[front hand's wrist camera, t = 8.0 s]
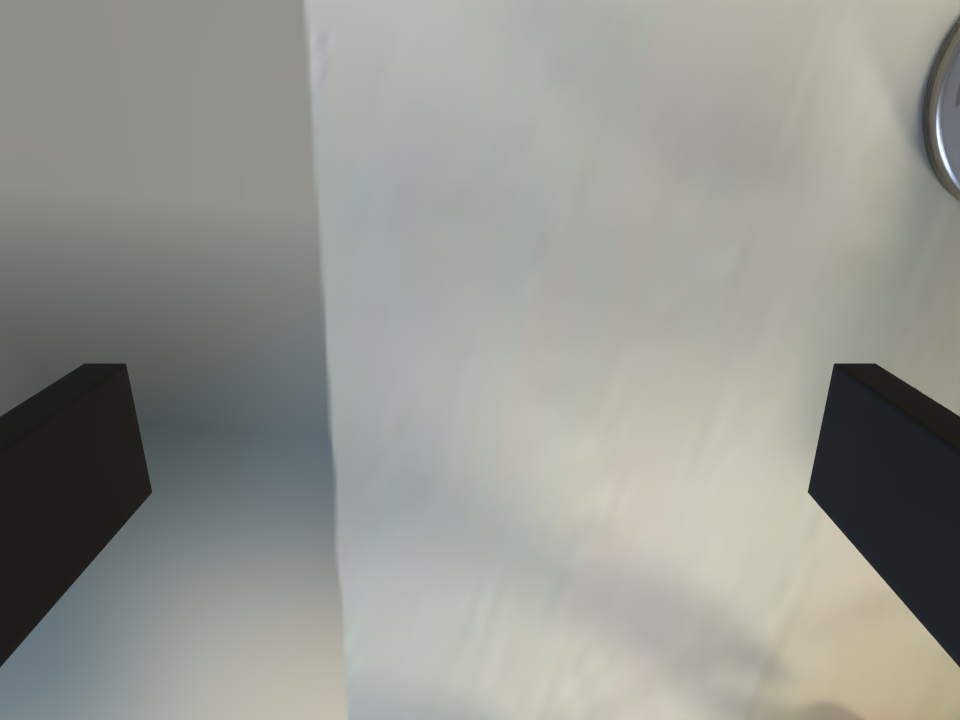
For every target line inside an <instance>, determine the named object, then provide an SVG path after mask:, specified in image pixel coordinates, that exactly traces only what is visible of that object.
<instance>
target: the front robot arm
mask: <svg viewBox="0 0 960 720" xmlns="http://www.w3.org/2000/svg"><path fill="white" fill-rule="evenodd" d="M923 135H924V143H925V147H926V151H927V155H928V158H929V161H930V163H931V166H932V168H933V170H934V172H935V174H936V176H937V177H938V179H939V180H940V182H941V183H942V185H943V186H944V187H945V188H946V189H947V190H948V191H949V193H951V194H952V195H953V196H954V197H955V198H956V199H957V200H959V201H960V19H959V21H958V22H957V23H956V25H955V26H954V28H953V29H952V31H951V32H950V34H949V36H948V37H947V39H946V41H945V43H944V44H943V46H942V48H941V50H940V52H939V54H938V57H937V59H936V61H935V64H934V66H933V69H932V72H931V75H930V78H929V81H928V85H927V89H926V93H925V100H924V106H923ZM151 493H152V489H151V485H150V480H149V475H148V470H147V465H146V460H145V455H144V450H143V445H142V440H141V435H140V430H139V426H138V421H137V416H136V411H135V406H134V401H133V396H132V392H131V387H130V382H129V376H128V372H127V367H126V364H83V365H82V366H80V367H78V368H77V369H75V370H74V371H72V372H70V373H69V374H67V375H66V376H64V377H62V378H61V379H59V380H58V381H56V382H55V383H53V384H52V385H50V386H48V387H47V388H45V389H43V390H42V391H40V392H39V393H37V394H36V395H34V396H32V397H31V398H29V399H28V400H26V401H24V402H23V403H21V404H20V405H18V406H16V407H15V408H13V409H12V410H10V411H8V412H7V413H5V414H4V415H2V416H1V417H0V667H1V666H2V665H3V663H4V662H5V661H6V660H7V659H8V658H9V657H10V655H11V654H12V653H13V652H14V651H15V650H16V648H17V647H18V646H19V645H20V644H21V643H22V642H23V640H24V639H25V638H26V637H27V636H28V635H29V633H30V632H31V631H32V630H33V629H34V628H35V627H36V625H37V624H38V623H39V622H40V621H41V620H42V619H43V617H44V616H45V615H46V614H47V613H48V612H49V610H50V609H51V608H52V607H53V606H54V605H55V604H56V602H57V601H58V600H59V599H60V598H61V597H62V596H63V594H64V593H65V592H66V591H67V590H68V588H69V587H70V586H71V585H72V584H73V583H74V582H75V581H76V579H77V578H78V577H79V576H80V575H81V574H82V572H83V571H84V570H85V569H86V568H87V567H88V566H89V564H90V563H91V562H92V561H93V560H94V559H95V557H96V556H97V555H98V554H99V553H100V552H101V551H102V549H103V548H104V547H105V546H106V545H107V544H108V543H109V541H110V540H111V539H112V538H113V537H114V536H115V534H116V533H117V532H118V531H119V530H120V529H121V528H122V526H123V525H124V524H125V523H126V522H127V521H128V519H129V518H130V517H131V516H132V515H133V514H134V513H135V511H136V510H137V509H138V508H139V507H140V506H141V505H142V503H143V502H144V501H145V500H146V499H147V498H148V496H149V495H150V494H151ZM808 493H809V494H810V495H811V496H812V498H813V499H814V500H815V501H816V502H817V503H818V505H819V506H820V507H821V508H822V509H823V510H824V511H825V513H826V514H827V515H828V516H829V517H830V518H831V519H832V521H833V522H834V523H835V524H836V525H837V526H838V528H839V529H840V530H841V531H842V532H843V533H844V534H845V536H846V537H847V538H848V539H849V540H850V541H851V543H852V544H853V545H854V546H855V547H856V548H857V549H858V551H859V552H860V553H861V554H862V555H863V556H864V558H865V559H866V560H867V561H868V562H869V563H870V564H871V566H872V567H873V568H874V569H875V570H876V571H877V572H878V574H879V575H880V576H881V577H882V578H883V579H884V581H885V582H886V583H887V584H888V585H889V586H890V587H891V589H892V590H893V591H894V592H895V593H896V594H897V596H898V597H899V598H900V599H901V600H902V601H903V602H904V604H905V605H906V606H907V607H908V608H909V609H910V610H911V612H912V613H913V614H914V615H915V616H916V617H917V619H918V620H919V621H920V622H921V623H922V624H923V625H924V627H925V628H926V629H927V630H928V631H929V632H930V634H931V635H932V636H933V637H934V638H935V639H936V640H937V642H938V643H939V644H940V645H941V646H942V647H943V648H944V650H945V651H946V652H947V653H948V654H949V655H950V657H951V658H952V659H953V660H954V661H955V662H956V663H957V665H958V666H959V667H960V417H959V416H958V415H956V414H955V413H953V412H952V411H950V410H948V409H947V408H945V407H944V406H942V405H940V404H939V403H937V402H936V401H934V400H932V399H931V398H929V397H928V396H926V395H925V394H923V393H921V392H920V391H918V390H917V389H915V388H913V387H912V386H910V385H909V384H907V383H905V382H904V381H902V380H901V379H899V378H898V377H896V376H894V375H893V374H891V373H890V372H888V371H886V370H885V369H883V368H882V367H880V366H878V365H877V364H834V367H833V372H832V376H831V381H830V386H829V391H828V396H827V401H826V406H825V411H824V416H823V421H822V426H821V430H820V435H819V440H818V445H817V450H816V455H815V460H814V465H813V470H812V475H811V480H810V484H809V489H808Z"/></svg>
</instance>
